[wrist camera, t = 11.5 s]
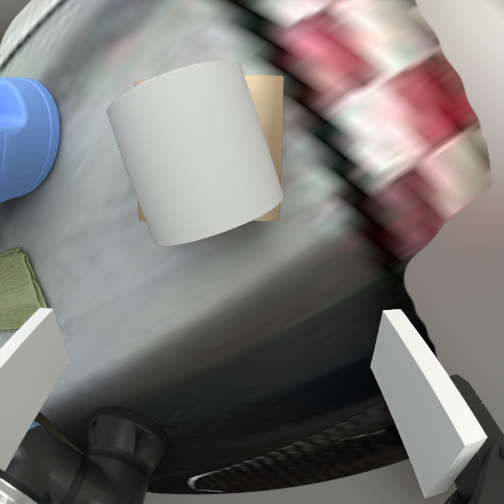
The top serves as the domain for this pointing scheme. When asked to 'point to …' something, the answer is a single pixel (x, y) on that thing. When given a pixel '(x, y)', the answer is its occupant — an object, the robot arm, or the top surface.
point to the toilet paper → (195, 152)
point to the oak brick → (264, 124)
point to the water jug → (26, 135)
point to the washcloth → (18, 290)
